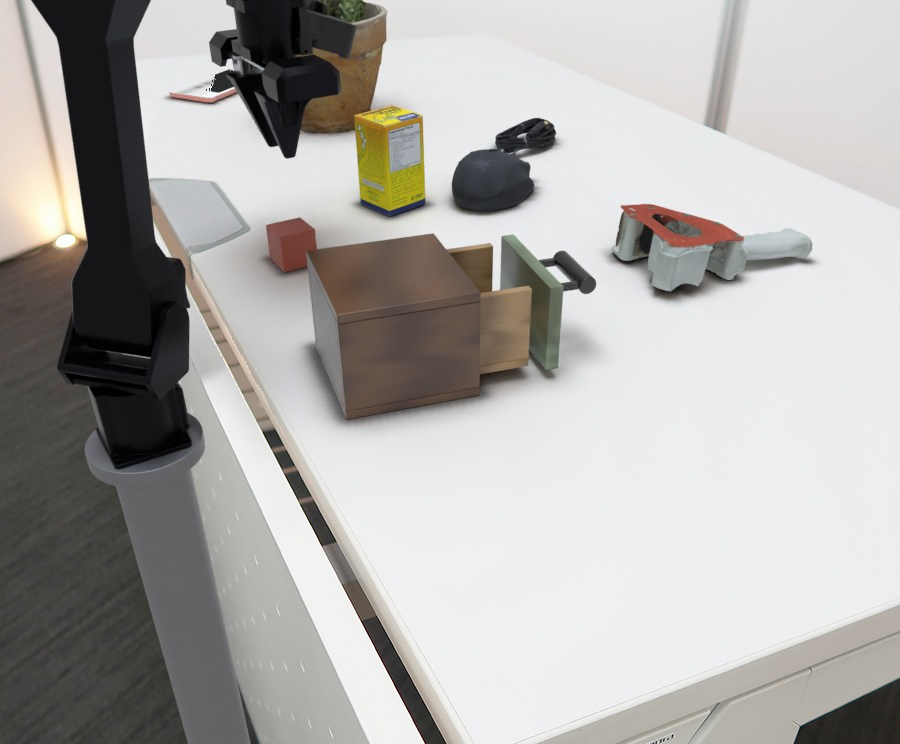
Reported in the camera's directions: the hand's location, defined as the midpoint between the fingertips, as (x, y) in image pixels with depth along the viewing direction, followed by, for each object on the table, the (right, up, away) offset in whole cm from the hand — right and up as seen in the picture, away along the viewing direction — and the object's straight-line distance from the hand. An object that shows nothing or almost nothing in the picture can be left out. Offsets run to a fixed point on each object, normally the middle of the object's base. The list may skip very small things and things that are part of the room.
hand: (281, 151), depth 94 cm
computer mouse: (+25, +7, +30) cm, 39 cm away
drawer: (+22, -21, -10) cm, 32 cm away
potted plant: (-1, +20, +48) cm, 52 cm away
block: (0, -10, +7) cm, 12 cm away
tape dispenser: (+44, -11, +5) cm, 45 cm away
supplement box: (+10, 0, +20) cm, 23 cm away
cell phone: (-22, +32, +65) cm, 75 cm away
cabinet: (+12, -23, -12) cm, 29 cm away
